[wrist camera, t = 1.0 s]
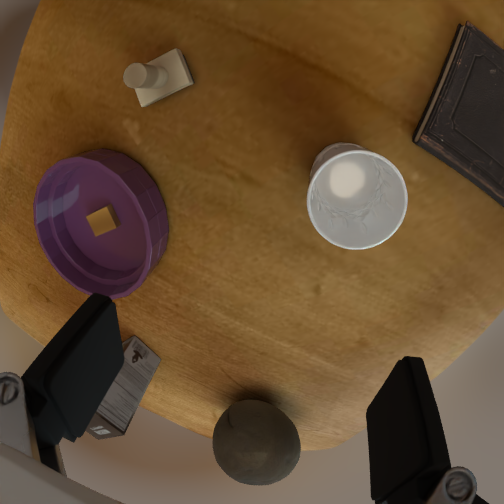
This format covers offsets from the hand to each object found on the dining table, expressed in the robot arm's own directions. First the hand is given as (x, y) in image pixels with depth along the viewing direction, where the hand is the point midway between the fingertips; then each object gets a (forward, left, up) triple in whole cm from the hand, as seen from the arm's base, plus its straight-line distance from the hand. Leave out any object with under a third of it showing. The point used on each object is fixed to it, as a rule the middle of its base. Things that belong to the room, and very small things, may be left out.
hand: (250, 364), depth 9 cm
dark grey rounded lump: (+36, -16, -26) cm, 47 cm away
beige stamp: (-15, -9, -26) cm, 31 cm away
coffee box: (+20, -34, -26) cm, 47 cm away
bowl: (-3, -24, -26) cm, 35 cm away
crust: (-3, -24, -25) cm, 35 cm away
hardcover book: (+1, +27, -26) cm, 38 cm away
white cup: (+1, +5, -26) cm, 27 cm away
